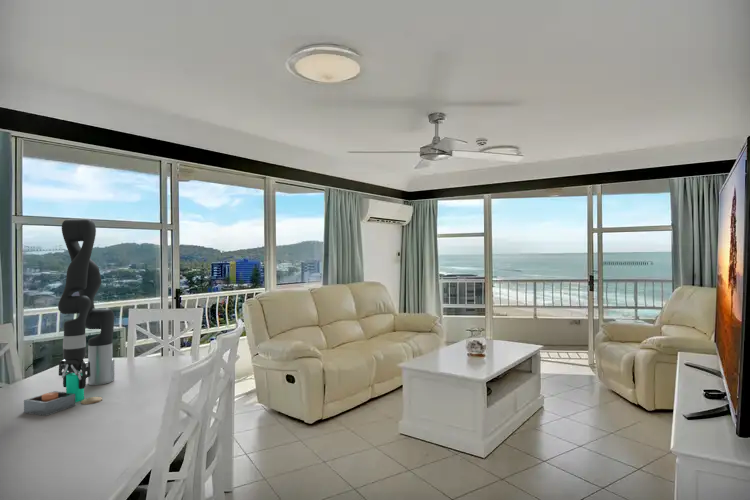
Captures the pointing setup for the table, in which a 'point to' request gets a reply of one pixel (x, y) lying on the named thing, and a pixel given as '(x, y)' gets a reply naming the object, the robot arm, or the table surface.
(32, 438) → the table surface
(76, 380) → the candle
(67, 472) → the table surface
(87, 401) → the coaster
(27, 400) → the gray open box
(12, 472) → the table surface
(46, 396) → the orange egg shape
